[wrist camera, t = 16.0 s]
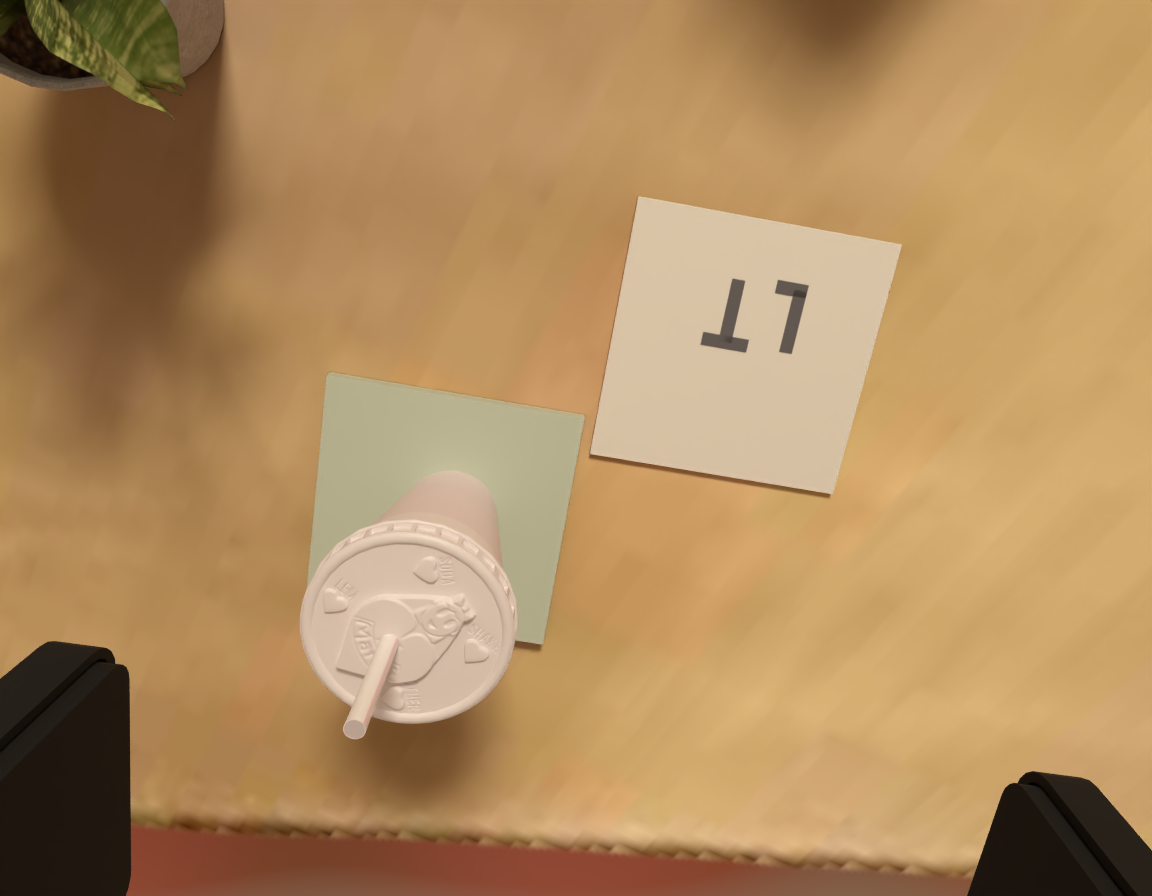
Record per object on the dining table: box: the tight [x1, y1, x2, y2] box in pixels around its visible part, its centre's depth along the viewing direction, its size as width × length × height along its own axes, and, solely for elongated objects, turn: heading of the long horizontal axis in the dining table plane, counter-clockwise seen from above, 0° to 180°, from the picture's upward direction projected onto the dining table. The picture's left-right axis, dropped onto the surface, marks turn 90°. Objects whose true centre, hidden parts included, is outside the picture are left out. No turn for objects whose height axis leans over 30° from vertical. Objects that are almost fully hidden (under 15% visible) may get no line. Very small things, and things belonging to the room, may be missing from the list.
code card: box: [590, 196, 902, 494], centre depth 33 cm, size 10×10×1 cm
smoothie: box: [300, 471, 519, 739], centre depth 27 cm, size 6×6×14 cm
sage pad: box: [307, 372, 584, 645], centre depth 34 cm, size 10×10×1 cm
